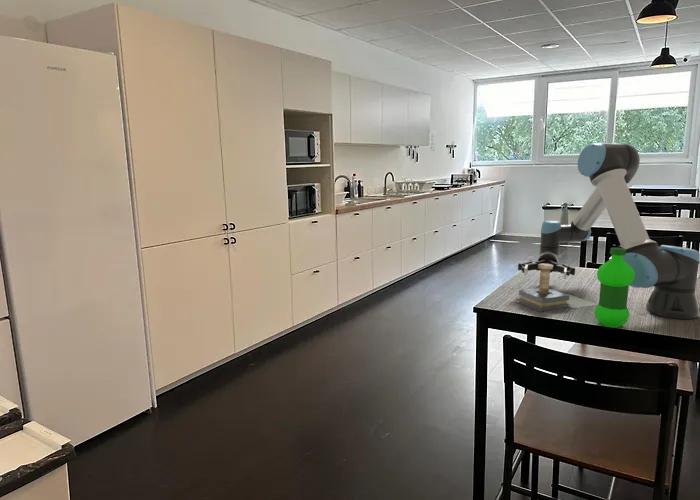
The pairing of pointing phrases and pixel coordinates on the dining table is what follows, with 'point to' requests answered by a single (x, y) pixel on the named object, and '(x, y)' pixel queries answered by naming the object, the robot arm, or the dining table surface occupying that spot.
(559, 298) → the square socket block
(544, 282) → the pin
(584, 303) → the mat
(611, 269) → the plastic bottle
